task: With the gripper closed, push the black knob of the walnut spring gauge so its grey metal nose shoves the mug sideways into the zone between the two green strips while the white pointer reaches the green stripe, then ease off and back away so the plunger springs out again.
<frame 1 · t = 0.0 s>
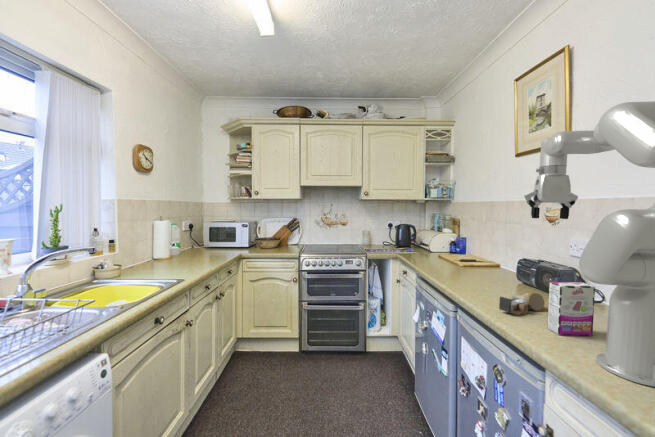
hand: (549, 218, 97), 37 cm above the countertop, tool pointing down, fingers open, 9 cm apart
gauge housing: (513, 311, 105), on the countertop
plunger: (512, 302, 104), point 4 cm above the countertop, slide at 0.0 cm
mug: (526, 307, 109), on the countertop
candy bar box: (568, 332, 88), on the countertop
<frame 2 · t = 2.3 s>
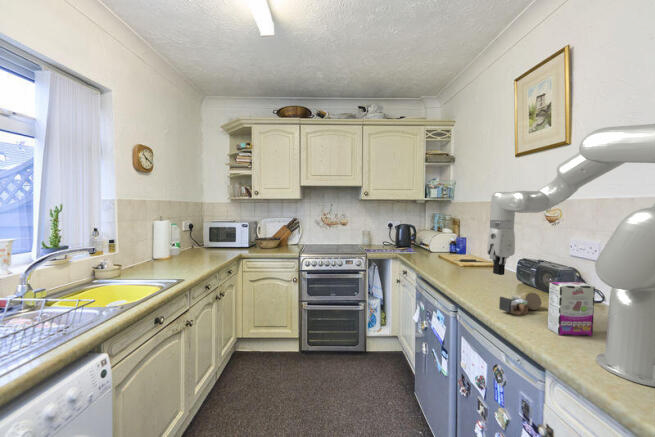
hand: (498, 273, 99), 16 cm above the countertop, tool pointing down, fingers closed
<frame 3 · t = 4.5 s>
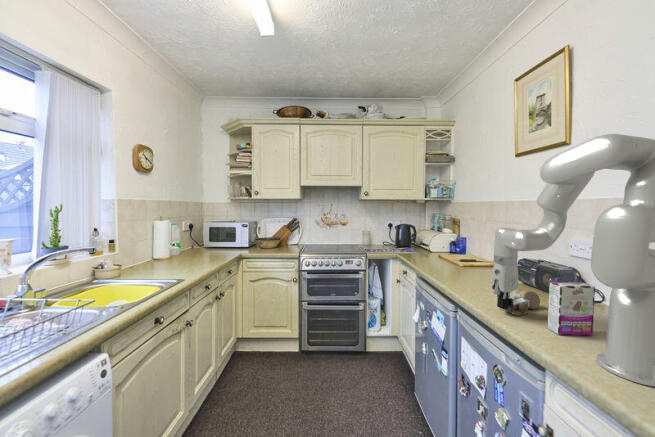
hand: (502, 307, 101), 3 cm above the countertop, tool pointing down, fingers closed
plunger: (514, 301, 104), point 4 cm above the countertop, slide at 1.4 cm, touching gripper, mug
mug: (522, 305, 111), on the countertop, touching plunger
everything else where it was.
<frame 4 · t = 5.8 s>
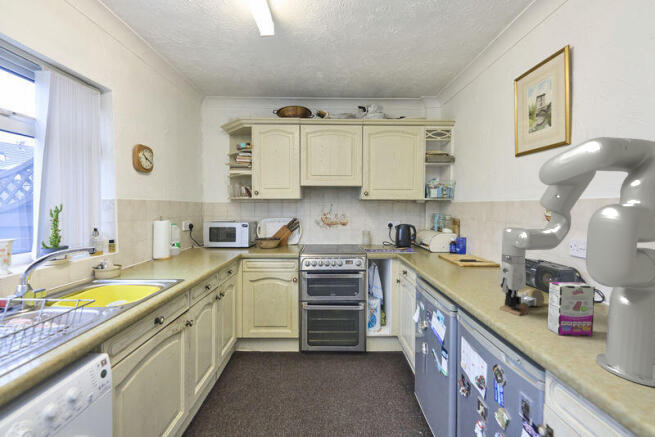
hand: (510, 305, 103), 3 cm above the countertop, tool pointing down, fingers closed
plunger: (521, 299, 107), point 4 cm above the countertop, slide at 6.7 cm, touching gripper, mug
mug: (527, 303, 114), on the countertop, touching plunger
everything else where it was.
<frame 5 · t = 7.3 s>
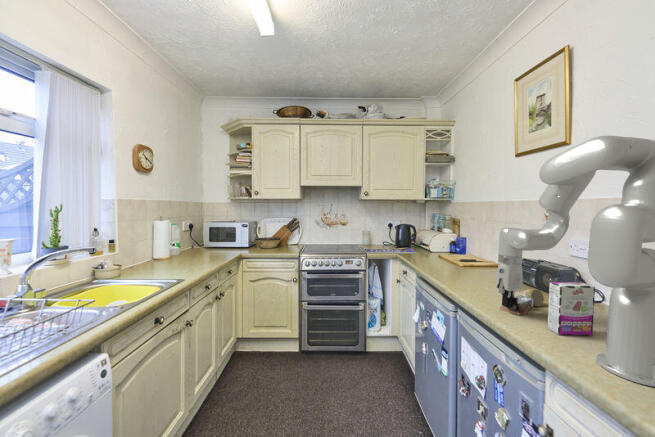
hand: (507, 306, 102), 3 cm above the countertop, tool pointing down, fingers closed
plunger: (518, 300, 106), point 4 cm above the countertop, slide at 4.5 cm, touching gripper
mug: (526, 303, 114), on the countertop
everything else where it was.
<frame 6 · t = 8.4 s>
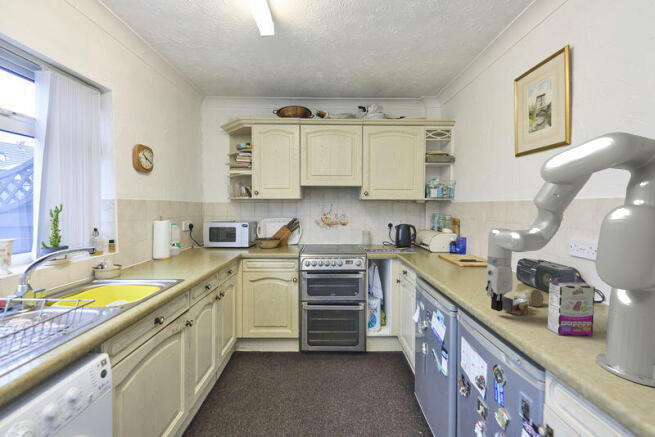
hand: (496, 309, 99), 3 cm above the countertop, tool pointing down, fingers closed
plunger: (514, 301, 104), point 4 cm above the countertop, slide at 1.2 cm
everything else where it was.
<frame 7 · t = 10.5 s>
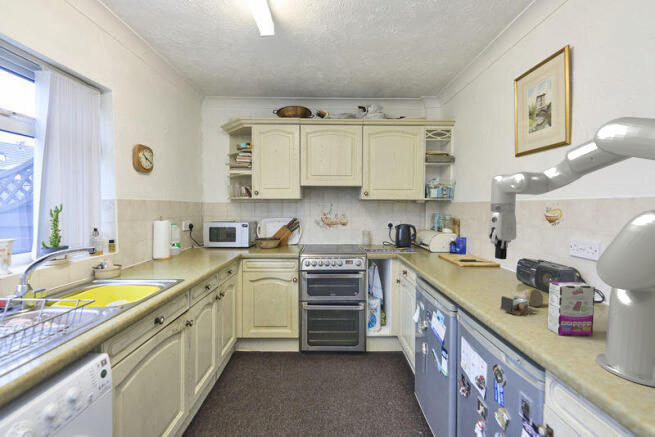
hand: (500, 258, 97), 22 cm above the countertop, tool pointing down, fingers closed
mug: (526, 304, 113), on the countertop, touching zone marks
everything else where it was.
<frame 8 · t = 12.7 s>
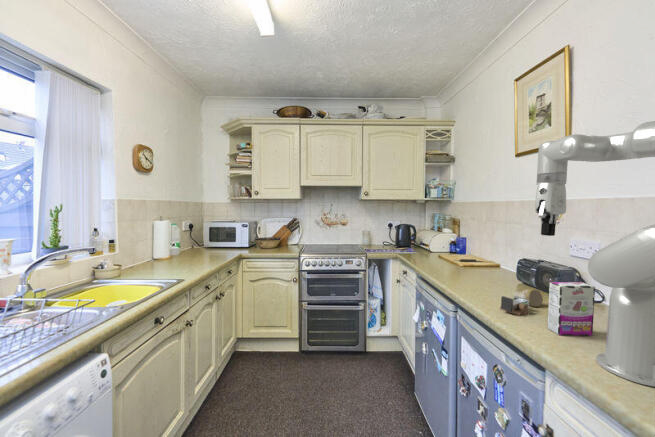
hand: (547, 235, 88), 32 cm above the countertop, tool pointing down, fingers closed
at the end: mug inside the target area (3.1 cm from its centre), on the countertop; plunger slide at 1.2 cm; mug tilted 0° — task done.
